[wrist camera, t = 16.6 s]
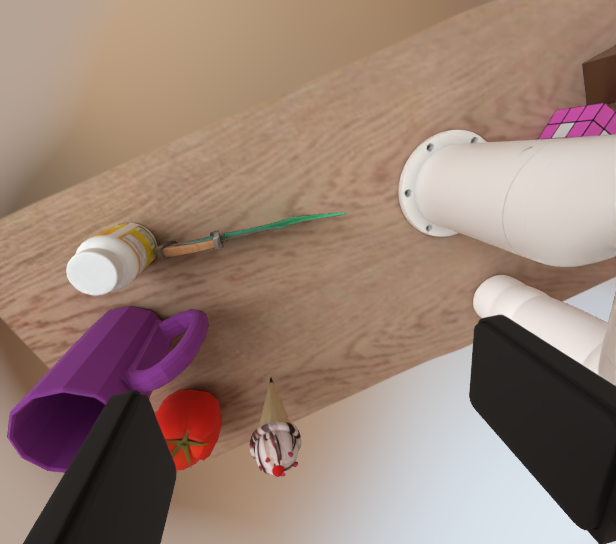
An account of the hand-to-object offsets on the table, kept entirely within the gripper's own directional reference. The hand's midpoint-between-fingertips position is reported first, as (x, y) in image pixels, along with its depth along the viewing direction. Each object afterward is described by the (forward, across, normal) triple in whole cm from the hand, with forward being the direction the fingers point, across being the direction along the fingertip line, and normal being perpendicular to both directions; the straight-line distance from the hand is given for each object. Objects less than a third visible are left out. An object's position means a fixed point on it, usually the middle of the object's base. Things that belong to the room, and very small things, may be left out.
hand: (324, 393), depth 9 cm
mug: (+31, +16, +12) cm, 37 cm away
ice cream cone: (+31, +4, +23) cm, 38 cm away
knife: (+31, +3, +1) cm, 31 cm away
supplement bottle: (+31, +16, +1) cm, 34 cm away
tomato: (+31, +15, +25) cm, 42 cm away
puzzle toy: (+31, -37, -3) cm, 48 cm away
